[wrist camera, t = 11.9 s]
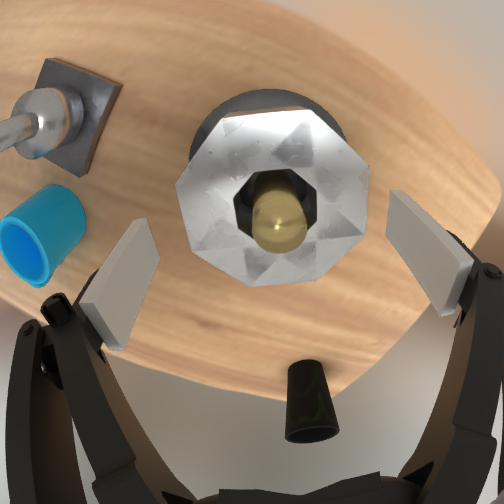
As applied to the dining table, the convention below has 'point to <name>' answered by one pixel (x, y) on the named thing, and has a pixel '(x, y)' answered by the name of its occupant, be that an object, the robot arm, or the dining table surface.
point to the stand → (61, 116)
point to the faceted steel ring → (263, 159)
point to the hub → (270, 174)
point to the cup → (309, 404)
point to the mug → (42, 233)
